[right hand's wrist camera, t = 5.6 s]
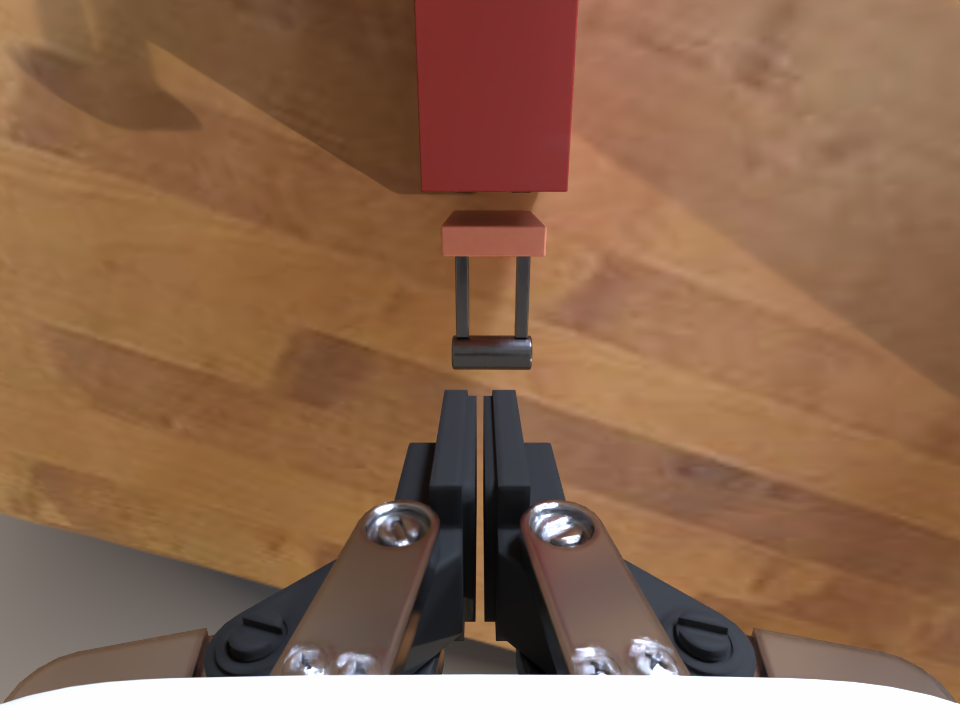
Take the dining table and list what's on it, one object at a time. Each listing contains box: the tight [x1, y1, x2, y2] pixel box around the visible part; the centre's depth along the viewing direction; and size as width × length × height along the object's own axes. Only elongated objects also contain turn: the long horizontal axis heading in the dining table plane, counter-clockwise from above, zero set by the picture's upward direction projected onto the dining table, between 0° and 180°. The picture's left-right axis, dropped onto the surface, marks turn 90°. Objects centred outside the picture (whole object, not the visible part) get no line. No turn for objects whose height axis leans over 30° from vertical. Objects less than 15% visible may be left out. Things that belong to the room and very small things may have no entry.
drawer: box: [441, 192, 547, 370], centre depth 22 cm, size 26×4×8 cm, turn 0°
